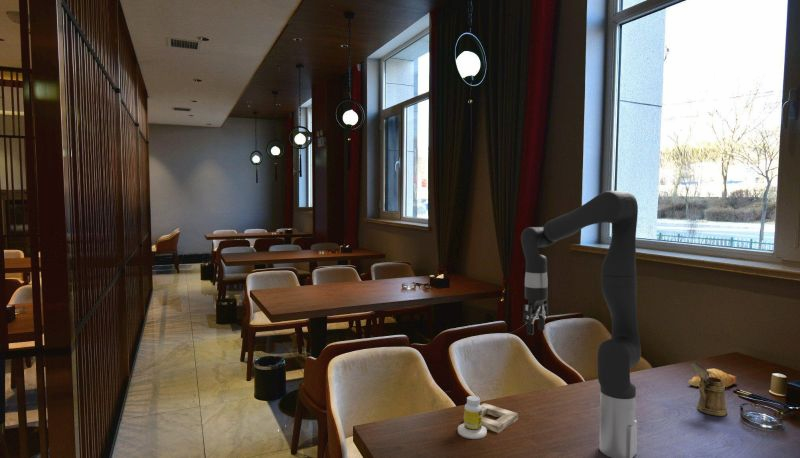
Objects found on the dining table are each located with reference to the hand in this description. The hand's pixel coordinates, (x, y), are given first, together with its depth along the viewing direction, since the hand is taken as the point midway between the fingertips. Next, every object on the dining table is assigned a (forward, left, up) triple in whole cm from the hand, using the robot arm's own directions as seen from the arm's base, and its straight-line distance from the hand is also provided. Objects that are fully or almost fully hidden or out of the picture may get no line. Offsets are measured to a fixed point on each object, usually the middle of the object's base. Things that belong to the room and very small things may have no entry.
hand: (535, 332), depth 165 cm
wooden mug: (-45, -40, -28) cm, 66 cm away
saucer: (+8, +27, -28) cm, 40 cm away
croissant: (-42, -72, -28) cm, 88 cm away
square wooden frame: (+8, +16, -28) cm, 33 cm away
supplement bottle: (+8, +27, -27) cm, 39 cm away
